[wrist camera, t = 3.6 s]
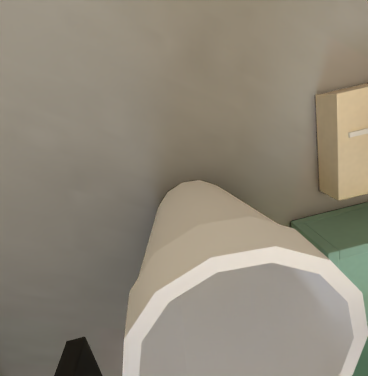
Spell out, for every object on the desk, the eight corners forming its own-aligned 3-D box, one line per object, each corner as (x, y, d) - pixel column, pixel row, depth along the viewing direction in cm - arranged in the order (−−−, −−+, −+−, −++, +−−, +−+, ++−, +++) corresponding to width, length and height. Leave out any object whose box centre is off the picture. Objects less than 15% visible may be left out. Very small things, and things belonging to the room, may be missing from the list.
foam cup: (266, 181, 22) (414, 281, 10) (226, 273, 24) (303, 448, 12) (156, 146, 20) (165, 217, 8) (124, 250, 22) (92, 432, 10)
